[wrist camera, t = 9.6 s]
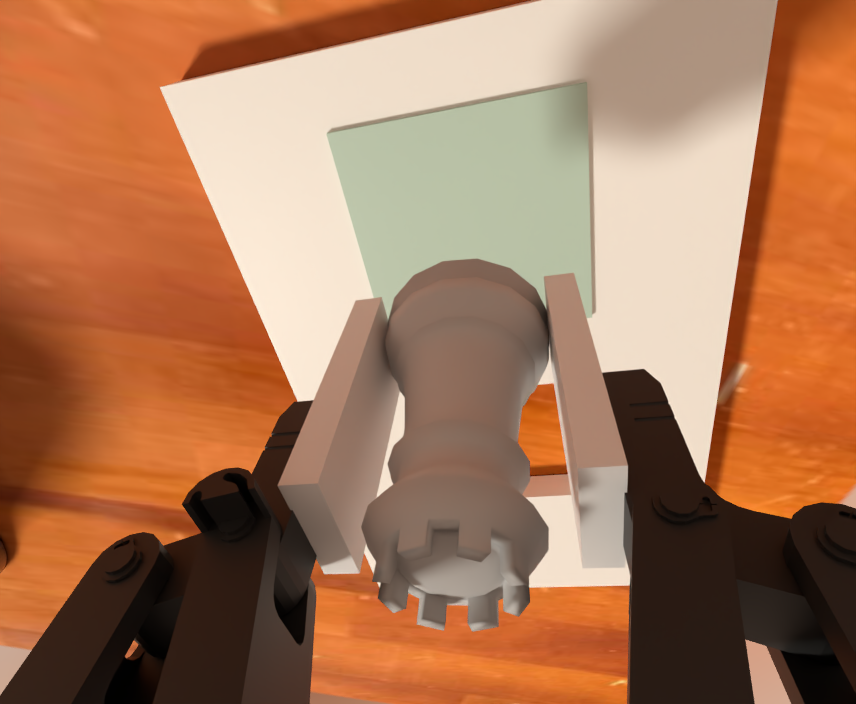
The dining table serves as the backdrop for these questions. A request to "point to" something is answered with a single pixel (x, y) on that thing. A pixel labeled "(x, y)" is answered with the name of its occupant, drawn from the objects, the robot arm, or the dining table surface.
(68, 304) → the dining table surface
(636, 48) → the hole board
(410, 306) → the rook chess piece
